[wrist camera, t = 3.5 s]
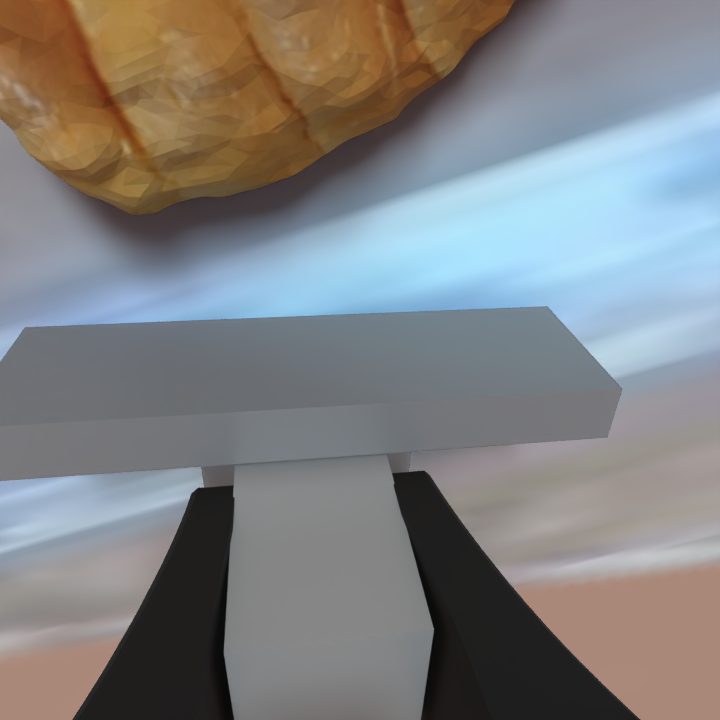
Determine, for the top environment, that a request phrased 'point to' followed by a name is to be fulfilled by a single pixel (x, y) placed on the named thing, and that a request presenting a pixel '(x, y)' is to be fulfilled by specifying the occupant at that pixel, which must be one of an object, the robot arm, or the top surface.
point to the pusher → (304, 464)
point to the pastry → (215, 85)
